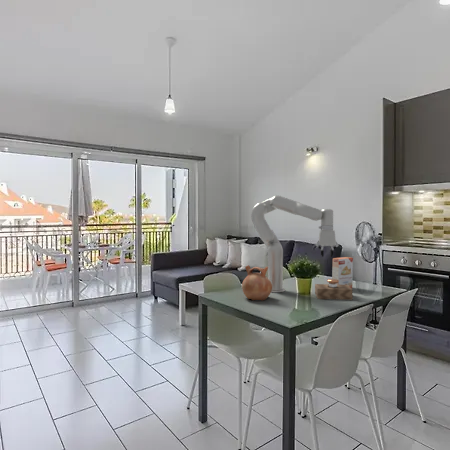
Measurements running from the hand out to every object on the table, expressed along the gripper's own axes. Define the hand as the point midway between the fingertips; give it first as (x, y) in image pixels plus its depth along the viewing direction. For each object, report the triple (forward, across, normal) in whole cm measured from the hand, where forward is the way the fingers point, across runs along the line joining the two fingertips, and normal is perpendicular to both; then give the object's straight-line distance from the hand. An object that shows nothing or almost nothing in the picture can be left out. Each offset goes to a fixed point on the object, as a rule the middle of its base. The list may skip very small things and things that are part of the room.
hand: (326, 256), depth 228 cm
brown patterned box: (+23, +2, -12) cm, 26 cm away
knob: (+20, +2, -12) cm, 23 cm away
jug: (+24, -44, -22) cm, 55 cm away
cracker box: (+24, +12, +12) cm, 29 cm away
